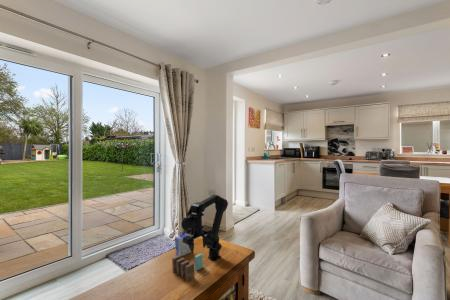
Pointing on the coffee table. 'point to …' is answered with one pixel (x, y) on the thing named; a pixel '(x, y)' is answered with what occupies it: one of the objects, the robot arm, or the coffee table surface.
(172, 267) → the domino
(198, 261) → the domino
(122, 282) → the coffee table surface
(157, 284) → the coffee table surface
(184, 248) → the ink cartridge box
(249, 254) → the coffee table surface
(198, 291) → the coffee table surface
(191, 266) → the domino
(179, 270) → the domino
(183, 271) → the domino
